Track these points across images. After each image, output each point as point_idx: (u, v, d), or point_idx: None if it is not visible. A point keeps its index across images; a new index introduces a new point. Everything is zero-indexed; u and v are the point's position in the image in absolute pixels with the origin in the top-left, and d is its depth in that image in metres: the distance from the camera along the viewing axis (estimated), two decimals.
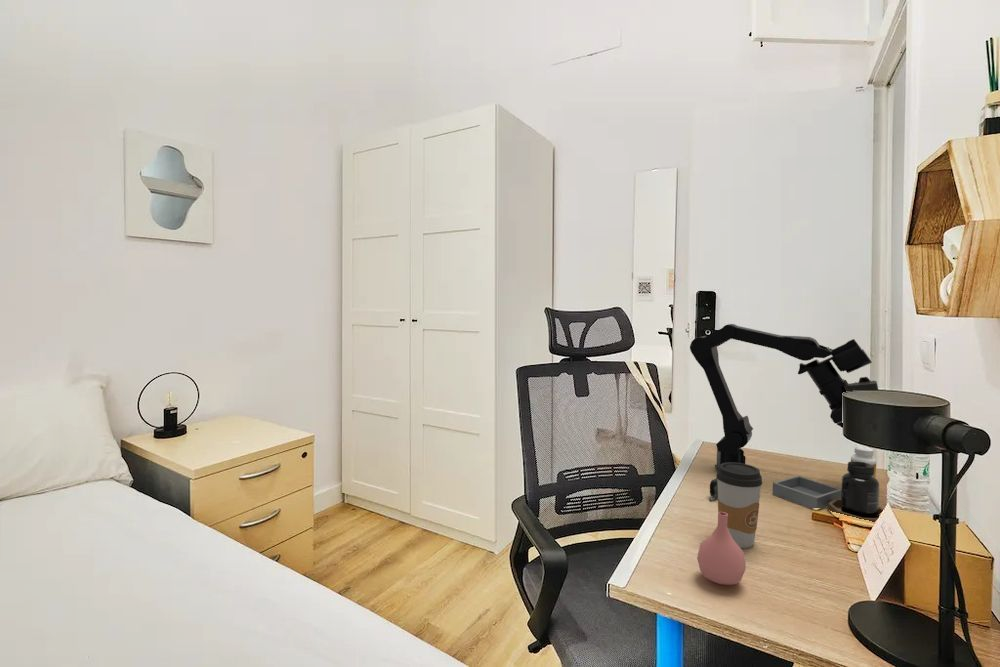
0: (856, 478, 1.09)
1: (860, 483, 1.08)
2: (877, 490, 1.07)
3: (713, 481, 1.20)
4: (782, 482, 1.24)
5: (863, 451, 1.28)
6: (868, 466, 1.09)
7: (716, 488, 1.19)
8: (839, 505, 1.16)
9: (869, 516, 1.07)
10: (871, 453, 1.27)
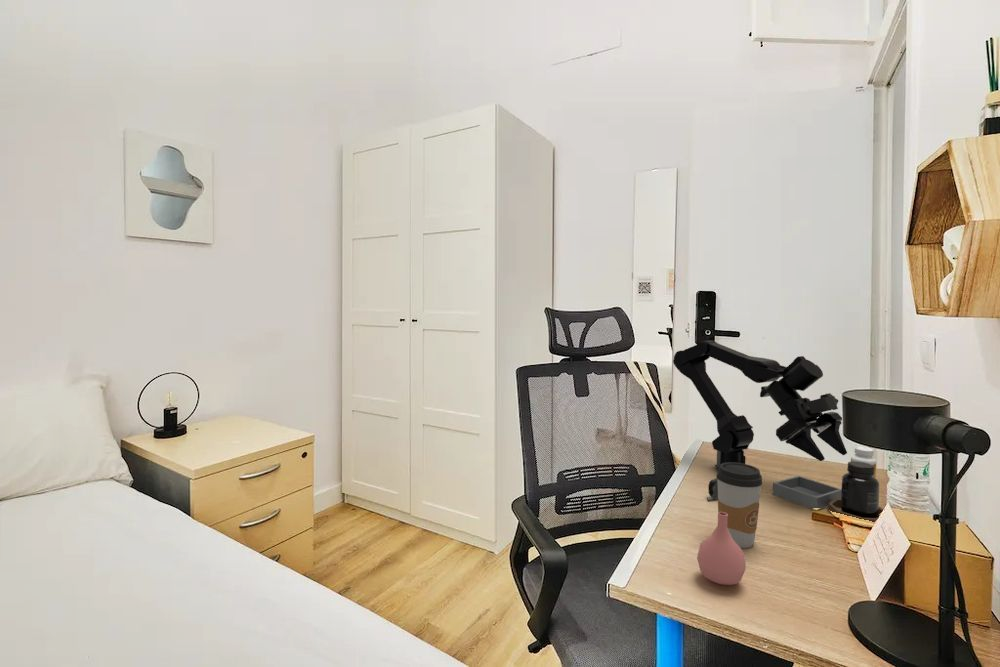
0: (856, 478, 1.09)
1: (860, 483, 1.08)
2: (877, 490, 1.07)
3: (712, 481, 1.20)
4: (782, 482, 1.24)
5: (863, 451, 1.28)
6: (868, 466, 1.09)
7: (714, 488, 1.19)
8: (839, 505, 1.16)
9: (869, 516, 1.07)
10: (871, 453, 1.27)
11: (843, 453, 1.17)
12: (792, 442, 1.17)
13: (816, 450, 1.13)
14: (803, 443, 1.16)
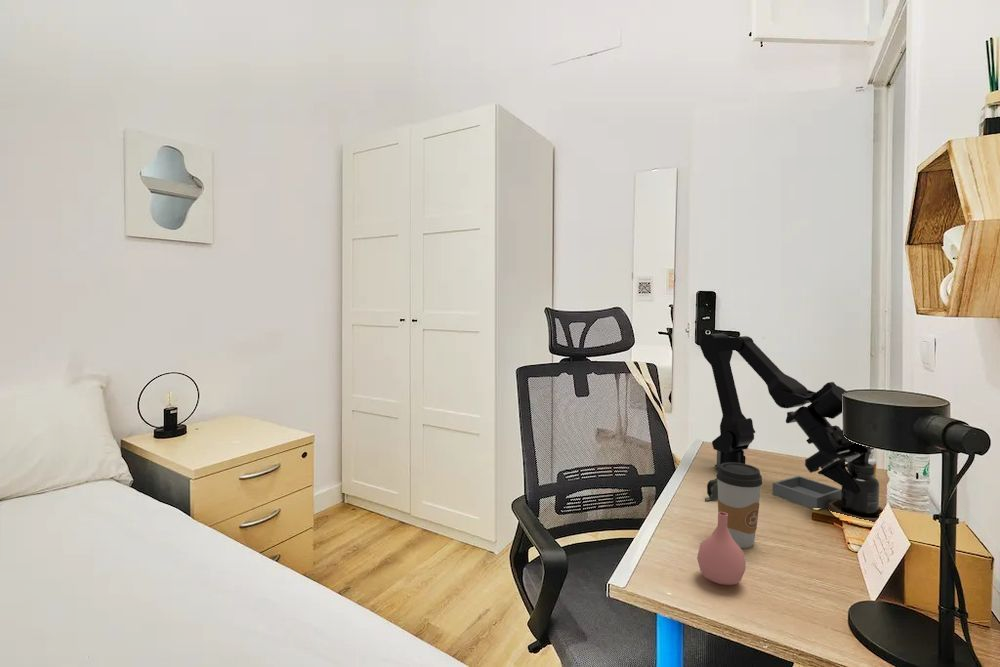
0: (856, 477, 1.09)
1: (860, 483, 1.08)
2: (877, 490, 1.07)
3: (710, 481, 1.20)
4: (782, 482, 1.24)
5: None
6: (868, 466, 1.09)
7: (712, 489, 1.19)
8: (839, 505, 1.16)
9: (869, 516, 1.07)
10: (871, 453, 1.27)
11: None
12: (825, 473, 1.12)
13: (851, 482, 1.08)
14: (837, 475, 1.10)
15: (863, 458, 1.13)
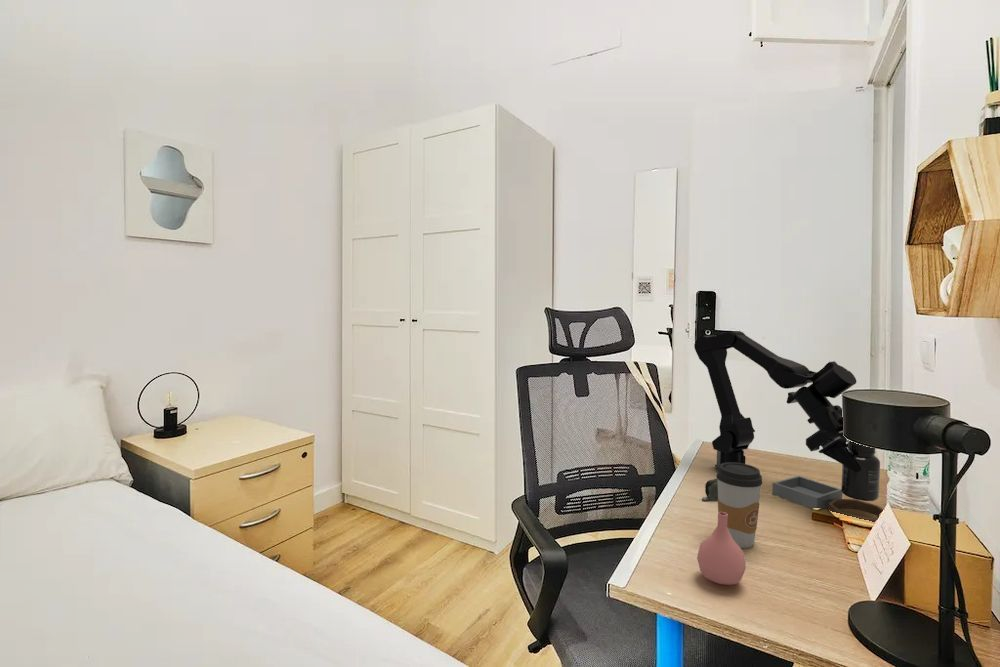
0: (857, 456, 1.09)
1: (860, 462, 1.07)
2: (878, 468, 1.07)
3: (708, 481, 1.20)
4: (782, 482, 1.24)
5: None
6: None
7: (710, 488, 1.19)
8: (839, 505, 1.16)
9: (870, 494, 1.07)
10: None
11: None
12: (826, 452, 1.11)
13: (852, 461, 1.08)
14: (837, 453, 1.10)
15: None
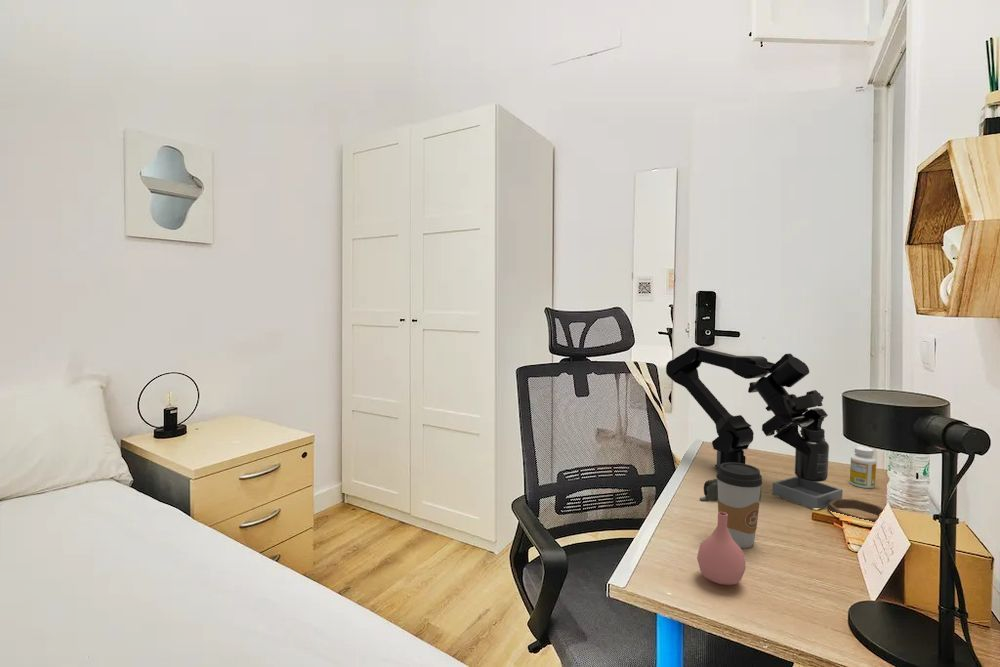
0: (808, 440, 1.18)
1: (810, 445, 1.17)
2: (826, 452, 1.17)
3: (707, 481, 1.20)
4: (782, 482, 1.24)
5: (863, 451, 1.28)
6: (819, 430, 1.18)
7: (708, 489, 1.19)
8: (839, 505, 1.16)
9: (818, 475, 1.17)
10: (871, 453, 1.27)
11: None
12: (780, 436, 1.21)
13: (803, 445, 1.17)
14: (790, 438, 1.19)
15: (816, 424, 1.22)
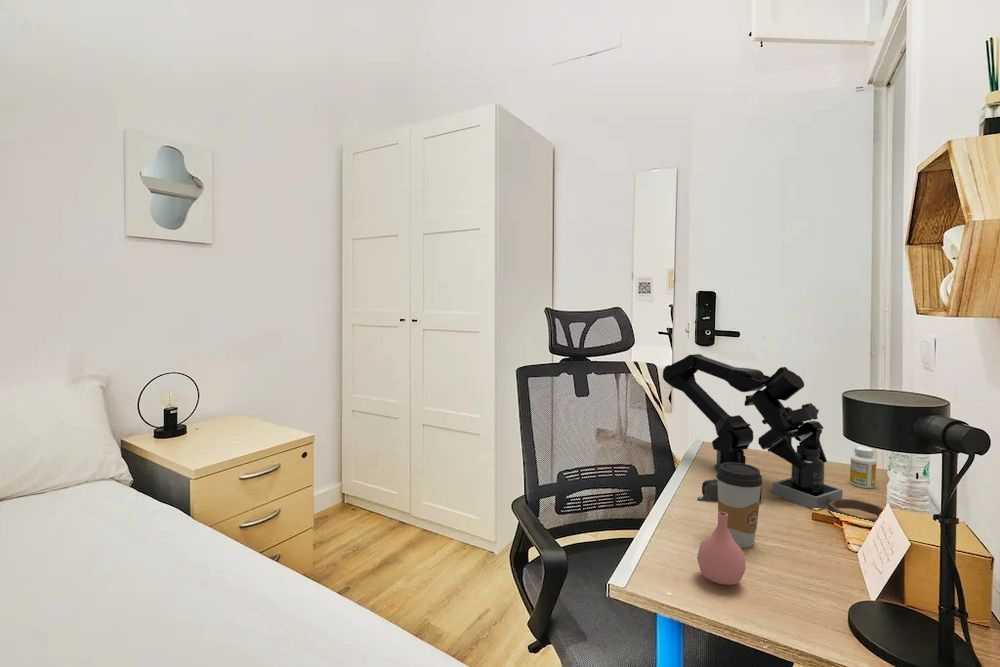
0: (803, 459, 1.19)
1: (806, 464, 1.18)
2: (822, 470, 1.18)
3: (705, 481, 1.20)
4: (782, 482, 1.24)
5: (863, 451, 1.28)
6: (814, 449, 1.19)
7: (706, 488, 1.19)
8: (839, 505, 1.16)
9: (814, 494, 1.18)
10: (871, 453, 1.27)
11: (823, 461, 1.22)
12: (774, 450, 1.21)
13: (796, 458, 1.17)
14: (784, 452, 1.20)
15: (814, 436, 1.24)
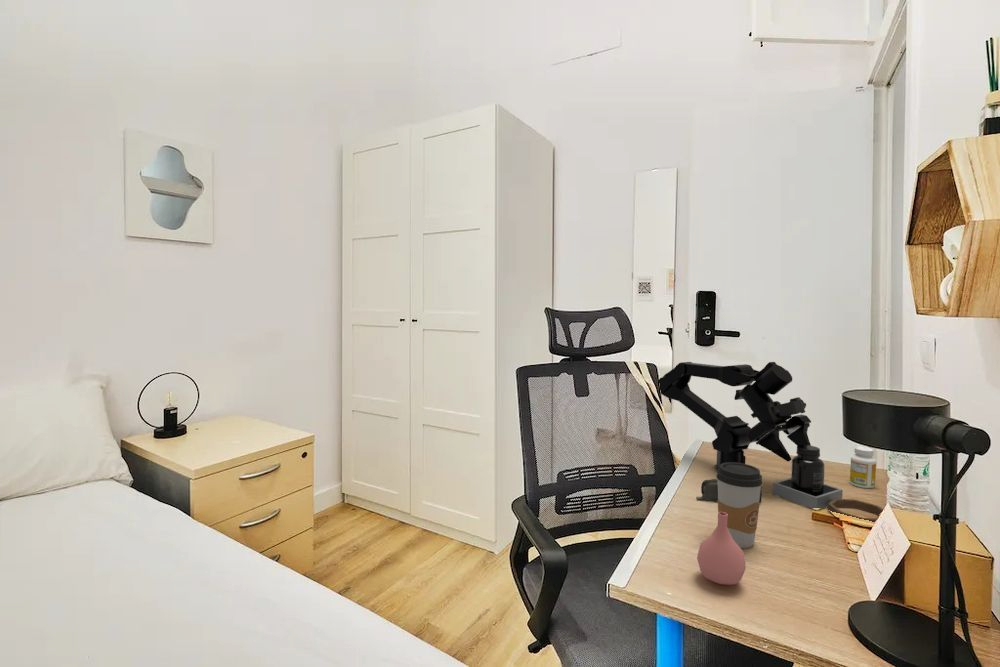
0: (803, 459, 1.19)
1: (806, 464, 1.18)
2: (822, 470, 1.18)
3: (704, 481, 1.20)
4: (782, 482, 1.24)
5: (863, 451, 1.28)
6: (814, 449, 1.19)
7: (705, 488, 1.19)
8: (839, 505, 1.16)
9: (814, 494, 1.18)
10: (871, 453, 1.27)
11: None
12: (762, 443, 1.24)
13: (783, 451, 1.20)
14: (772, 445, 1.22)
15: (802, 429, 1.26)
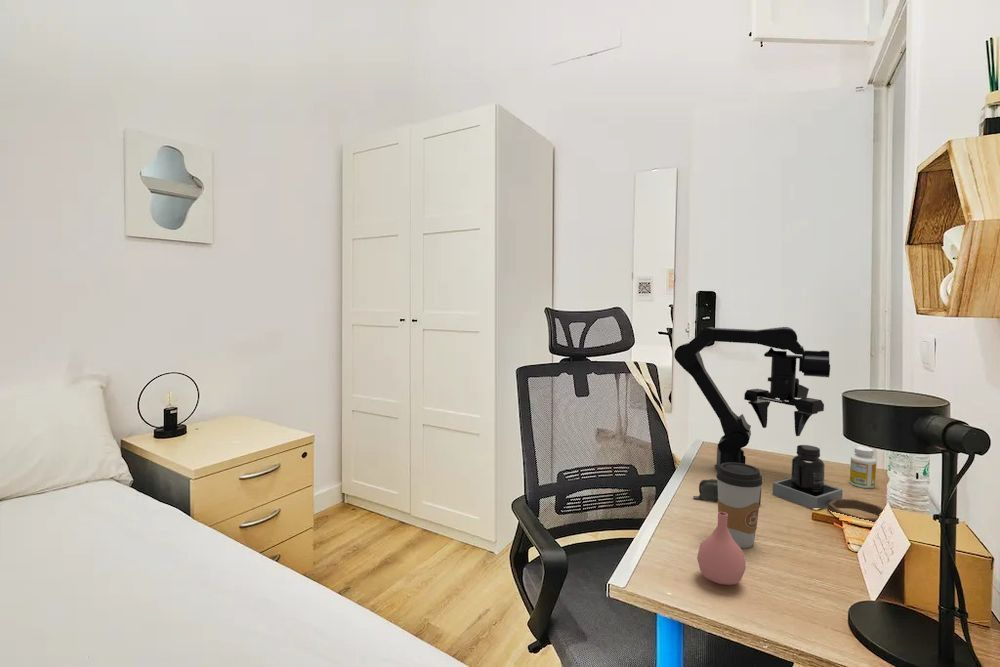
0: (803, 459, 1.19)
1: (806, 464, 1.18)
2: (822, 470, 1.18)
3: (702, 481, 1.21)
4: (782, 482, 1.24)
5: (863, 451, 1.28)
6: (814, 449, 1.19)
7: (702, 488, 1.20)
8: (839, 505, 1.16)
9: (814, 494, 1.18)
10: (871, 453, 1.27)
11: (765, 426, 1.37)
12: (802, 415, 1.26)
13: (802, 427, 1.28)
14: (801, 419, 1.27)
15: (768, 404, 1.38)
